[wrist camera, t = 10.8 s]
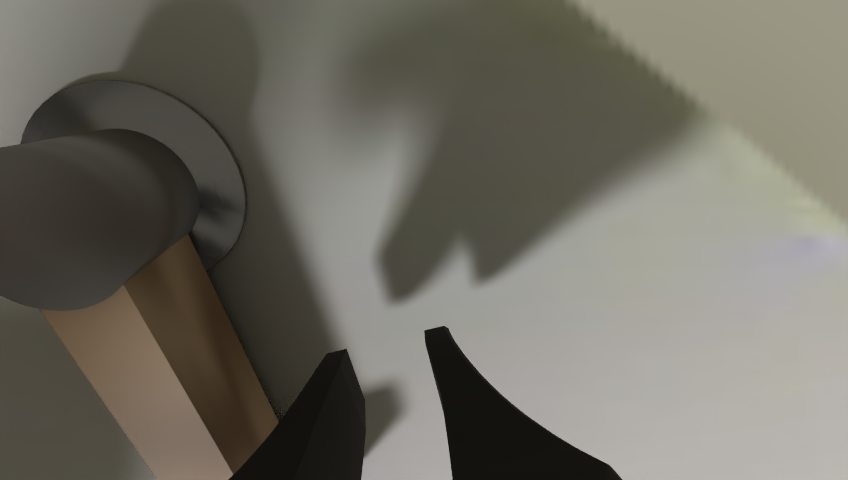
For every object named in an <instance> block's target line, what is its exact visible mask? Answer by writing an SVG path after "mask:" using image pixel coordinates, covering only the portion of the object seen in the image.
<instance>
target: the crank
mask: <svg viewBox="0 0 848 480" xmlns="http://www.w3.org/2000/svg"><path fill="white" fill-rule="evenodd" d="M198 213H199V194H198V189H197V186H196V183H195V180H194V178H193V176H192V174H191V172H190V171H189V169H188V168H187V166H186V165H185V163H184V162H183V161H182V160H181V159H180V157H179V156H178V155H177V154H175V153H174V152H173V151H172V150H171V149H170V148H168V147H167V146H166V145H165V144H163V143H161V142H160V141H158V140H156V139H155V138H152V137H150V136H148V135H146V134H143V133H140V132H137V131H132V130H128V129H104V130H98V131H93V132H87V133H81V134H76V135H70V136H64V137H59V138H53V139H47V140H42V141H36V142H30V143H25V144H19V145H13V146H8V147H2V148H0V295H1V296H3V297H5V298H7V299H10V300H12V301H14V302H17V303H20V304H23V305H26V306H30V307H34V308H38V309H39V310H40V311H41V313H42V314H43V315H44V317H45V318H46V320H47V321H48V323H49V324H50V326H51V327H52V328H53V330H54V331H55V333H56V334H57V336H58V337H59V339H60V340H61V341H62V343H63V344H64V346H65V347H66V349H67V350H68V352H69V353H70V354H71V356H72V357H73V359H74V360H75V362H76V363H77V365H78V366H79V367H80V369H81V370H82V372H83V373H84V375H85V376H86V378H87V379H88V380H89V382H90V383H91V385H92V386H93V388H94V389H95V391H96V392H97V393H98V395H99V396H100V398H101V399H102V401H103V402H104V404H105V405H106V407H107V408H108V409H109V411H110V412H111V414H112V415H113V417H114V418H115V420H116V421H117V422H118V424H119V425H120V427H121V428H122V430H123V431H124V433H125V434H126V435H127V437H128V438H129V440H130V441H131V443H132V444H133V446H134V447H135V448H136V450H137V451H138V453H139V454H140V456H141V457H142V459H143V460H144V461H145V463H146V464H147V466H148V467H149V469H150V470H151V472H152V473H153V474H154V476H155V477H156V479H157V480H228V479H229V478H230V477H231V476H232V475H233V474H234V473H235V472H237V471H238V470H239V468H240V467H241V466H242V465H243V464H244V463H245V462H246V461H247V460H248V459H249V458H250V456H251V455H252V454H253V453H254V452H255V451H256V450H257V449H258V448H259V446H260V445H261V444H262V443H263V442H264V441H265V439H266V438H267V437H268V436H269V435H270V433H271V432H272V431H273V429H274V428H275V427H276V426H277V424H278V423H279V422H278V420H277V418H276V416H275V414H274V411H273V409H272V407H271V405H270V403H269V401H268V399H267V397H266V395H265V393H264V391H263V389H262V387H261V384H260V382H259V380H258V378H257V376H256V374H255V372H254V370H253V368H252V366H251V364H250V362H249V360H248V357H247V355H246V353H245V351H244V349H243V347H242V345H241V343H240V341H239V339H238V337H237V335H236V333H235V330H234V328H233V326H232V324H231V322H230V320H229V318H228V316H227V314H226V312H225V310H224V308H223V306H222V304H221V301H220V299H219V297H218V295H217V293H216V291H215V289H214V287H213V285H212V283H211V281H210V279H209V277H208V274H207V272H206V270H205V268H204V266H203V264H202V262H201V260H200V258H199V256H198V254H197V252H196V250H195V247H194V245H193V243H192V241H191V239H190V237H189V235H188V234H189V232H190V231H191V230H192V228H193V226H194V225H195V223H196V220H197V217H198Z"/></svg>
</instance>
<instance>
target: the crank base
mask: <svg viewBox="0 0 848 480" xmlns="http://www.w3.org/2000/svg"><path fill="white" fill-rule="evenodd" d="M104 129H128V130H132V131H137V132H140V133H143V134H146V135H148V136H150V137H152V138H155V139H156V140H158V141H160V142H161V143H163V144H165V145H166V146H167V147H168V148H170V149H171V150H172V151H173V152H174V153H175V154H177V155H178V156H179V157H180V159H181V160H182V161H183V162H184V163H185V165H186V166H187V168H188V169H189V171H190V172H191V174H192V176H193V178H194V180H195V183H196V186H197V189H198V194H199V213H198V217H197V220H196V223H195V225H194V226H193V228H192V230H191V231H190V232H189V234H188V235H189V237H190V239H191V241H192V243H193V245H194V247H195V250H196V252H197V254H198V256H199V258H200V260H201V262H202V264H203V266H204V268H205V270H206V271H207V270H208V269H210V268H212V267H213V266H215V265H216V264H217V263H218V262H219V261H220V260H222V259H223V258H224V257H225V256H226V254H227V253H228V252H229V251H230V250H231V249H232V247H233V246H234V244H235V243H236V241H237V239H238V238H239V235H240V233H241V230H242V228H243V224H244V220H245V216H246V206H247V201H246V189H245V184H244V179H243V176H242V173H241V170H240V167H239V164H238V162H237V160H236V158H235V156H234V154H233V152H232V151H231V149H230V147H229V146H228V144H227V143H226V141H225V140H224V139H223V137H222V136H221V135H220V134H219V132H218V131H217V130H216V129H215V128H214V127H213V126H212V125H211V124H210V123H209V122H208V121H207V120H206V119H205V118H204V117H203V116H202V115H200V114H199V113H198V112H197V111H196V110H194V109H193V108H192V107H190V106H189V105H187V104H185V103H184V102H182V101H181V100H179V99H177V98H175V97H173V96H171V95H169V94H167V93H165V92H163V91H160V90H157V89H155V88H152V87H149V86H145V85H141V84H137V83H133V82H124V81H93V82H87V83H81V84H78V85H75V86H72V87H69V88H66V89H64V90H62V91H60V92H58V93H56V94H54V95H53V96H52V97H50V98H49V99H48V100H46V101H45V102H44V103H43V104H42V105H41V106H40V107H39V108H38V109H37V110H36V111H35V112H34V114H33V115H32V117H31V119H30V120H29V122H28V123H27V126H26V128H25V131H24V133H23V135H22V140H21V144H25V143H30V142H36V141H42V140H47V139H53V138H59V137H64V136H70V135H76V134H81V133H87V132H93V131H98V130H104Z"/></svg>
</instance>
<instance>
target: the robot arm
mask: <svg viewBox="0 0 848 480" xmlns="http://www.w3.org/2000/svg"><path fill="white" fill-rule="evenodd" d="M425 343H426V347H427V351H428V355H429V359H430V363H431V366H432V370H433V374H434V378H435V381H436V385H437V389H438V393H439V397H440V400H441V404H442V408H443V412H444V417H445V424H446V431H447V438H448V445H449V453H450V461H451V469H452V477H453V480H622V479H621V478H620V477H619V475H618V474H617V473H616V472H615V471H614V470H613V468H612V467H611V466H610V465H608V464H606V463H604V462H602V461H600V460H598V459H596V458H594V457H592V456H591V455H589V454H587V453H585V452H583V451H581V450H579V449H577V448H575V447H574V446H572V445H570V444H569V443H567V442H565V441H564V440H562V439H560V438H559V437H557V436H556V435H554V434H552V433H551V432H550V431H548V430H547V429H545V428H544V427H542V426H541V425H539V424H538V423H537V422H535V421H534V420H532V419H531V418H529V417H528V416H527V415H525V414H524V413H523V412H521V411H520V410H519V409H518V408H516V407H515V406H514V405H513V404H511V403H510V402H509V401H508V400H507V399H506V398H505V397H503V396H502V395H501V394H500V393H499V392H498V391H497V390H496V389H495V388H494V387H493V386H492V385H491V384H490V383H489V382H488V381H487V380H486V379H485V378H484V377H483V376H482V375H481V374H480V373H479V372H478V371H477V369H476V368H475V367H474V366H473V365H472V364H471V362H470V361H469V360H468V359H467V358H466V356H465V355H464V354H463V352H462V351H461V350H460V348H459V347H458V345H457V344H456V342H455V341H454V339H453V337H452V335H451V333H450V331H449V329H448V328H447V327H445V326H442V327H437V328H433V329H429V330H425ZM365 433H366V426H365V399H364V396H363V394H362V391H361V388H360V385H359V382H358V380H357V377H356V374H355V371H354V369H353V366H352V363H351V360H350V357H349V355H348V352H347V349H344V350H340V351H336V352H332V353H327V354H326V356H325V357H324V359H323V360H322V362H321V363H320V365H319V366H318V367H317V369H316V370H315V372H314V374H313V375H312V377H311V378H310V380H309V381H308V383H307V384H306V386H305V387H304V389H303V390H302V391H301V393H300V394H299V396H298V397H297V399H296V400H295V402H294V403H293V404H292V406H291V407H290V408H289V410H288V411H287V412H286V414H285V415H284V416H283V418H282V419H281V420H280V422H279V423H278V424H277V426H276V427H275V428H274V429H273V431H272V432H271V433H270V435H269V436H268V437H267V438H266V439H265V441H264V442H263V443H262V444H261V445H260V446H259V448H258V449H257V450H256V451H255V452H254V453H253V454H252V455H251V456H250V458H249V459H248V460H247V461H246V462H245V463H244V464H243V465H242V466H241V467H240V468H239V470H238V471H237V472H235V473H234V474H233V475H232V476H231V477H230V478H229V479H228V480H361V475H362V465H363V455H364V445H365Z"/></svg>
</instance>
